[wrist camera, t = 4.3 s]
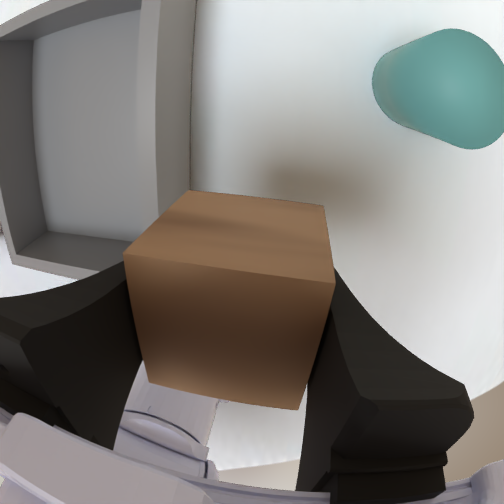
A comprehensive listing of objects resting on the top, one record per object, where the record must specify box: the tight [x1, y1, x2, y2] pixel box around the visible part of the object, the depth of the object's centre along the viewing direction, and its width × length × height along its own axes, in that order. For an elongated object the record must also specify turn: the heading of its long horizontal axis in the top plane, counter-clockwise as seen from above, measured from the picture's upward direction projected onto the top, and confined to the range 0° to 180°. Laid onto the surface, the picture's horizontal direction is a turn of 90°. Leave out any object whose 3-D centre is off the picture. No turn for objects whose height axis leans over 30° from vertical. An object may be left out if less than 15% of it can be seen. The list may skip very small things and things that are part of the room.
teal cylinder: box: [372, 29, 504, 149], centre depth 12 cm, size 5×5×7 cm
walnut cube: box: [123, 190, 336, 410], centre depth 10 cm, size 5×5×5 cm
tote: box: [0, 0, 197, 280], centre depth 16 cm, size 18×14×5 cm
